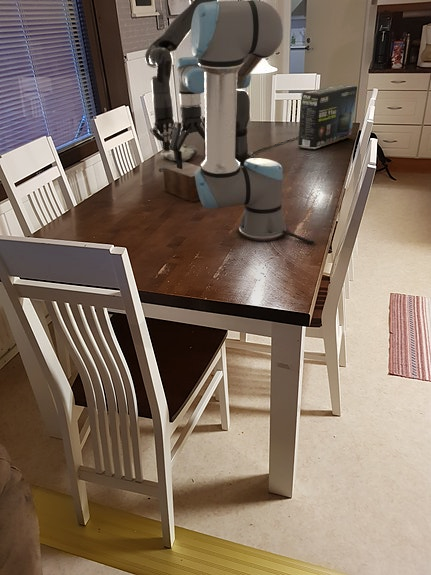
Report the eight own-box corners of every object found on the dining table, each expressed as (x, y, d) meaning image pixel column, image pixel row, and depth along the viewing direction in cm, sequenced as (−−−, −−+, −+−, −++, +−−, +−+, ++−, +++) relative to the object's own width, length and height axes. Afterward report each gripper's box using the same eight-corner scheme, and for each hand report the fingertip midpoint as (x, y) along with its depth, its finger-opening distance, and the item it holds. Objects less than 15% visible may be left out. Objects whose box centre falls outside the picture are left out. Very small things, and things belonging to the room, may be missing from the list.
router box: (314, 151, 231) (318, 94, 217) (296, 148, 237) (299, 92, 224) (352, 138, 251) (358, 85, 238) (335, 135, 258) (340, 83, 245)
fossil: (184, 156, 217) (163, 136, 220) (174, 174, 223) (154, 154, 227) (205, 153, 231) (186, 134, 234) (195, 171, 237) (176, 152, 240)
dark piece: (156, 184, 192) (154, 165, 188) (174, 179, 197) (173, 161, 193) (188, 197, 177) (187, 177, 173) (207, 191, 182) (206, 172, 178)
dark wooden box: (166, 191, 187) (164, 167, 182) (186, 185, 193) (185, 161, 188) (192, 202, 176) (190, 176, 170) (213, 195, 181) (212, 170, 176)
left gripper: (171, 101, 183) (174, 145, 192) (142, 106, 176) (148, 152, 185) (182, 103, 178) (185, 149, 187) (153, 108, 171) (158, 155, 180)
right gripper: (210, 99, 173) (212, 155, 184) (155, 109, 160) (161, 169, 171) (223, 101, 168) (225, 159, 179) (168, 112, 155) (173, 173, 166)
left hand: (166, 150), depth 186 cm, fingers closed
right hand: (194, 164), depth 175 cm, fingers open, 13 cm apart
